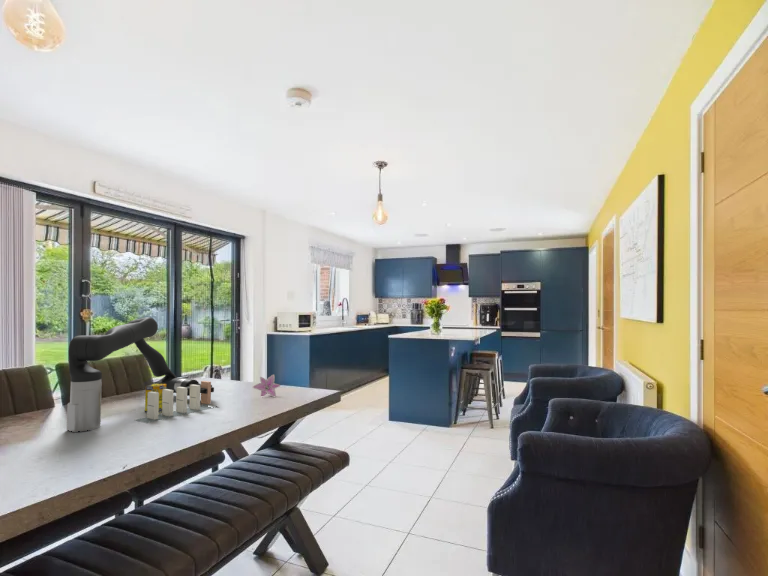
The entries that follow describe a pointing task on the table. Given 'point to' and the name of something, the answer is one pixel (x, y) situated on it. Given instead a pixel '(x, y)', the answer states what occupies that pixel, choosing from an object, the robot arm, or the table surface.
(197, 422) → the table surface
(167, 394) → the tile
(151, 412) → the end tile
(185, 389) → the tile
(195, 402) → the tile
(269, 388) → the lily
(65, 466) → the table surface
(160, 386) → the supplement box
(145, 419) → the domino mat
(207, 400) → the tile
